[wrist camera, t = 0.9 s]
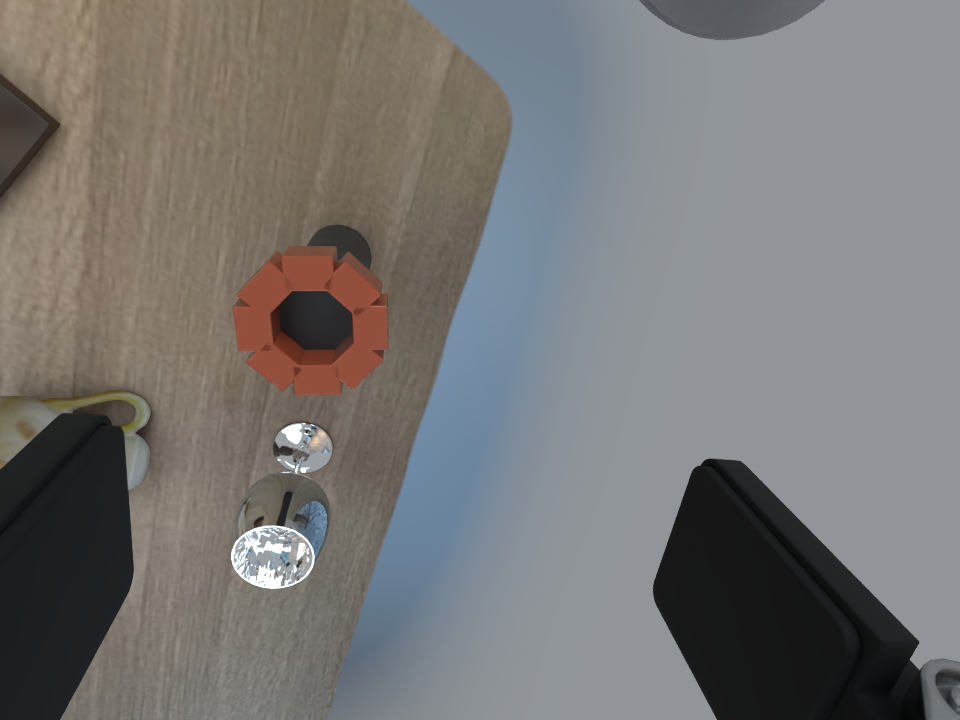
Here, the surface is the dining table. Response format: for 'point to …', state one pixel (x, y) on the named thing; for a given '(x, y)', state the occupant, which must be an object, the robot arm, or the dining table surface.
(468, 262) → the dining table surface
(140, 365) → the dining table surface
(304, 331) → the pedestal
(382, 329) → the ring
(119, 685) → the dining table surface
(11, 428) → the mug
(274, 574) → the wineglass
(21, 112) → the post
